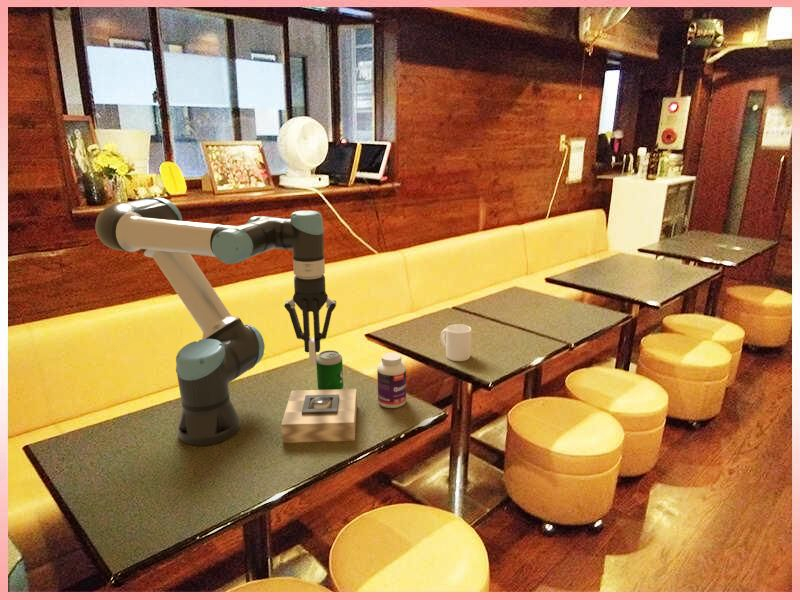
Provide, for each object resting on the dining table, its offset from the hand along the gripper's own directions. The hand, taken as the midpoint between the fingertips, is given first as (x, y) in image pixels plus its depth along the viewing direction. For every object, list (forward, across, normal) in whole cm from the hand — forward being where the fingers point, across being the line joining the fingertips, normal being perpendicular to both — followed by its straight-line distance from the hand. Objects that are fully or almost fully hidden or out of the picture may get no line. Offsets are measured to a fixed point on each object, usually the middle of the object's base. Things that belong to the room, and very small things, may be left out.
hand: (313, 363), depth 144 cm
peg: (+17, +2, -1) cm, 17 cm away
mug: (+17, +43, +41) cm, 62 cm away
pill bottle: (+17, +21, +9) cm, 29 cm away
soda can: (+18, +3, +17) cm, 25 cm away
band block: (+17, +2, -1) cm, 17 cm away
